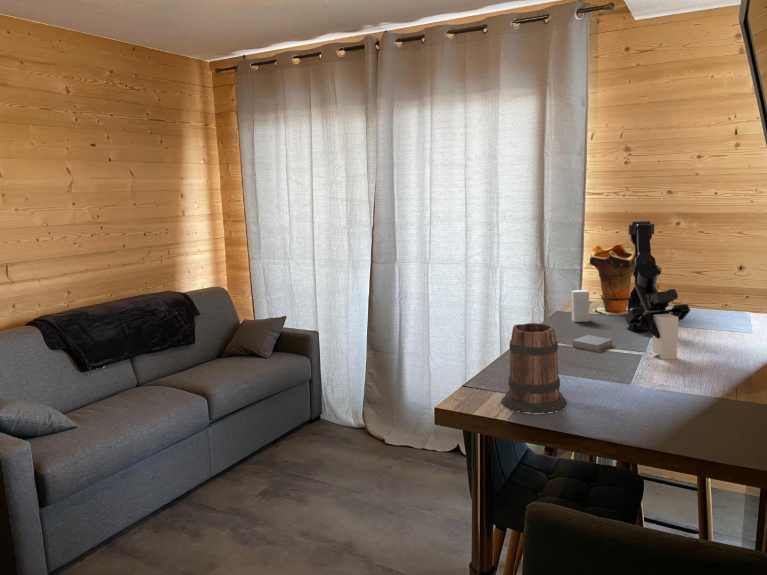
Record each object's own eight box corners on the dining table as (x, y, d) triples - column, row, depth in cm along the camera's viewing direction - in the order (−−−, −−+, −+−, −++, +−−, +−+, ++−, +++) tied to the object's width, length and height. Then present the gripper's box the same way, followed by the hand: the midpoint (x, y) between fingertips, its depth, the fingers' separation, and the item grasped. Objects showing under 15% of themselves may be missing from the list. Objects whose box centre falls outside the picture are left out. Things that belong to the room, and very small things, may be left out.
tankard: (561, 418, 146) (561, 337, 143) (493, 409, 154) (491, 333, 150) (577, 386, 167) (577, 315, 163) (516, 380, 174) (515, 312, 171)
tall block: (652, 355, 191) (653, 314, 188) (667, 354, 191) (669, 313, 189) (661, 359, 186) (662, 318, 183) (676, 358, 186) (678, 317, 184)
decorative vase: (609, 318, 238) (608, 247, 235) (579, 310, 261) (577, 244, 257) (656, 313, 242) (656, 243, 239) (622, 305, 265) (622, 241, 261)
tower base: (586, 345, 208) (586, 339, 208) (617, 350, 200) (617, 344, 200) (568, 352, 201) (568, 346, 201) (599, 358, 193) (599, 352, 192)
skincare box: (586, 319, 241) (587, 289, 239) (589, 321, 237) (589, 291, 235) (571, 319, 241) (571, 290, 239) (573, 322, 237) (573, 292, 235)
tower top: (587, 340, 206) (587, 334, 206) (612, 345, 199) (612, 339, 199) (572, 346, 200) (572, 340, 200) (597, 351, 194) (597, 345, 193)
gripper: (630, 282, 187) (649, 325, 178) (687, 278, 189) (708, 320, 180) (617, 302, 196) (634, 344, 187) (672, 298, 198) (691, 339, 189)
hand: (667, 337), depth 186 cm, fingers closed on tall block, 5 cm apart
